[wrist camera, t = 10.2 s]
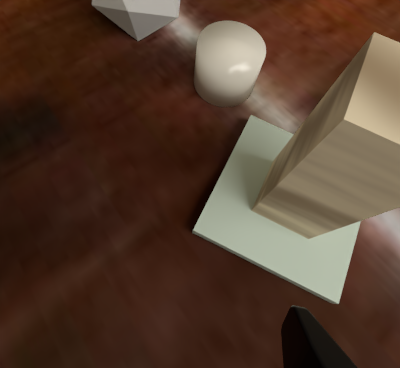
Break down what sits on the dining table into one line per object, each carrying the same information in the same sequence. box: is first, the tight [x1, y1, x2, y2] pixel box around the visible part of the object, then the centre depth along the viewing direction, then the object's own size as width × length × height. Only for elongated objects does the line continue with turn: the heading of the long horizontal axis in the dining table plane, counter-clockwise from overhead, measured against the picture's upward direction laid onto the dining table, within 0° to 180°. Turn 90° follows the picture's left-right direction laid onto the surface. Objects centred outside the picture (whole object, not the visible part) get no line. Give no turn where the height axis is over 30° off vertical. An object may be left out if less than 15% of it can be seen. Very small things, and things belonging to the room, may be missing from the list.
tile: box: [192, 115, 361, 304], centre depth 23 cm, size 12×12×1 cm
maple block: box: [251, 32, 400, 239], centre depth 17 cm, size 5×5×13 cm
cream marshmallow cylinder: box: [194, 21, 266, 107], centre depth 26 cm, size 6×6×4 cm
